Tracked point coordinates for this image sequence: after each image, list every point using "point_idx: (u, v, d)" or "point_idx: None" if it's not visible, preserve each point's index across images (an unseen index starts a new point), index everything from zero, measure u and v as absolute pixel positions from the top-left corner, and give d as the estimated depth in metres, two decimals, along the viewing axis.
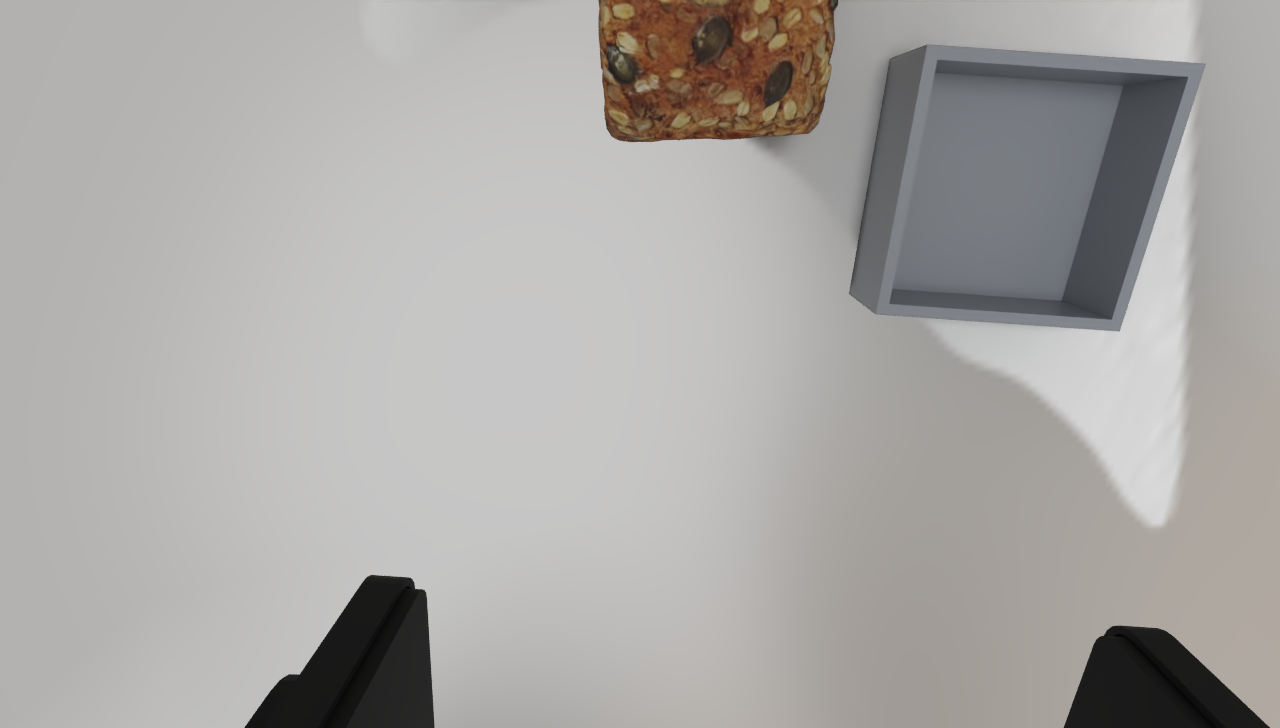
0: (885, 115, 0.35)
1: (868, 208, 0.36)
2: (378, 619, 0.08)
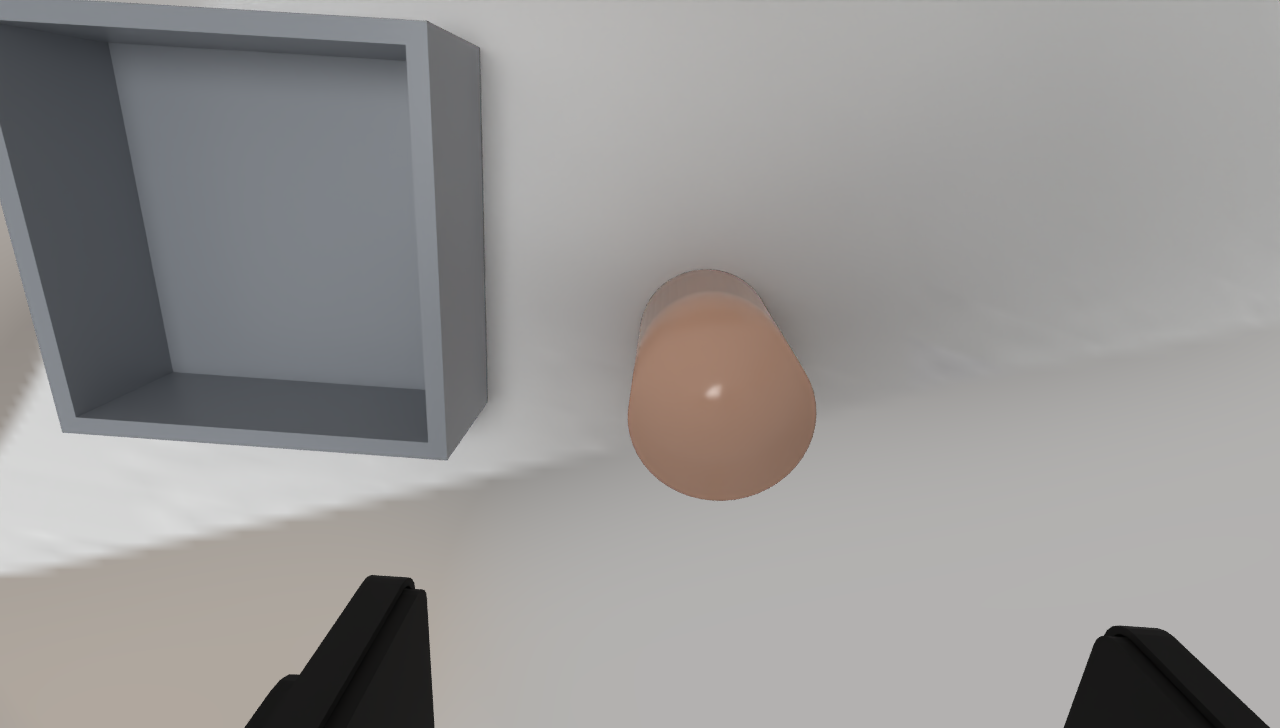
0: None
1: None
2: (378, 619, 0.08)
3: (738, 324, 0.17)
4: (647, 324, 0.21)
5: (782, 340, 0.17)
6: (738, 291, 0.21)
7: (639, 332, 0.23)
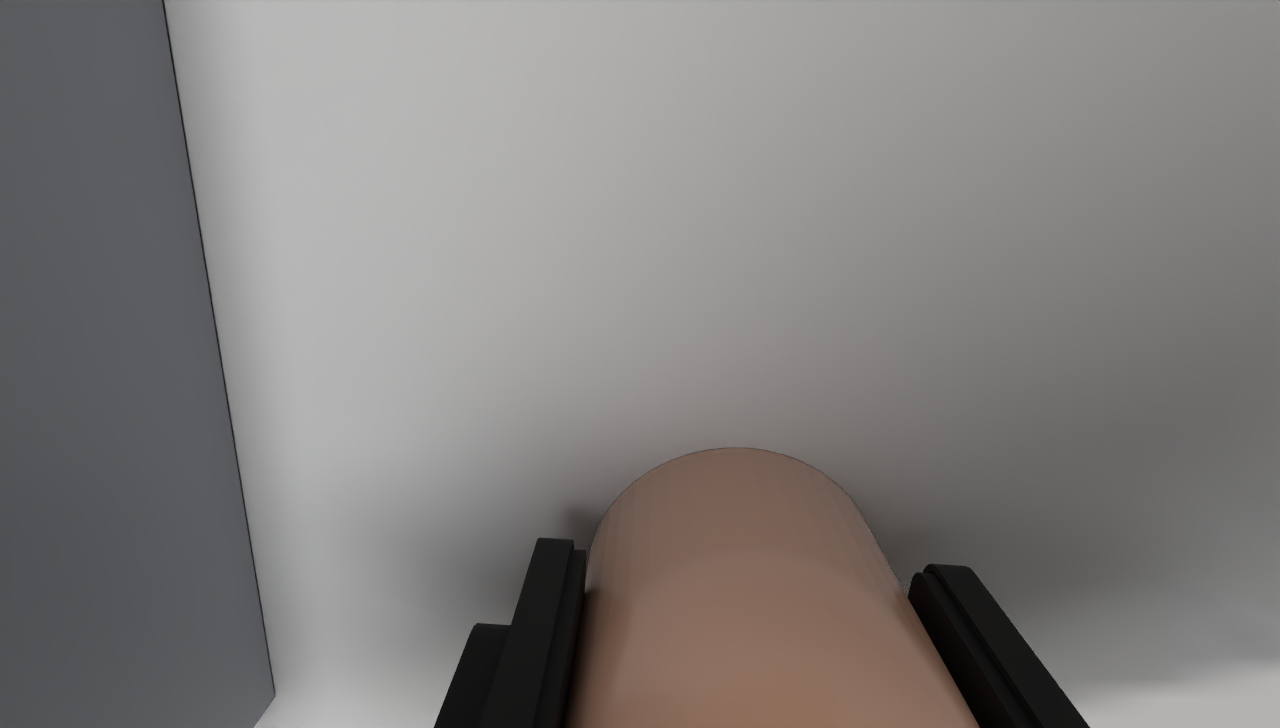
0: None
1: None
2: (561, 573, 0.09)
3: None
4: (587, 672, 0.07)
5: None
6: (839, 573, 0.08)
7: None
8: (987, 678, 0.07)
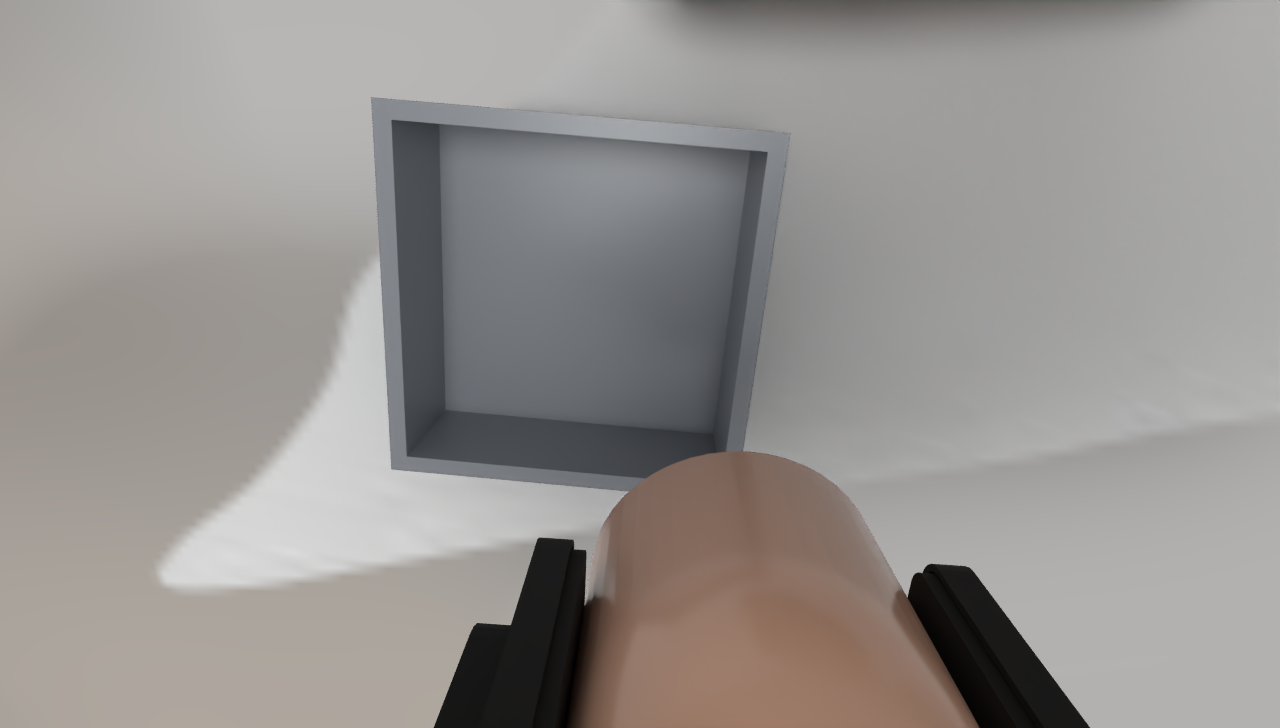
0: None
1: None
2: (561, 573, 0.09)
3: None
4: (590, 677, 0.07)
5: None
6: (842, 578, 0.08)
7: (582, 619, 0.09)
8: (987, 678, 0.07)
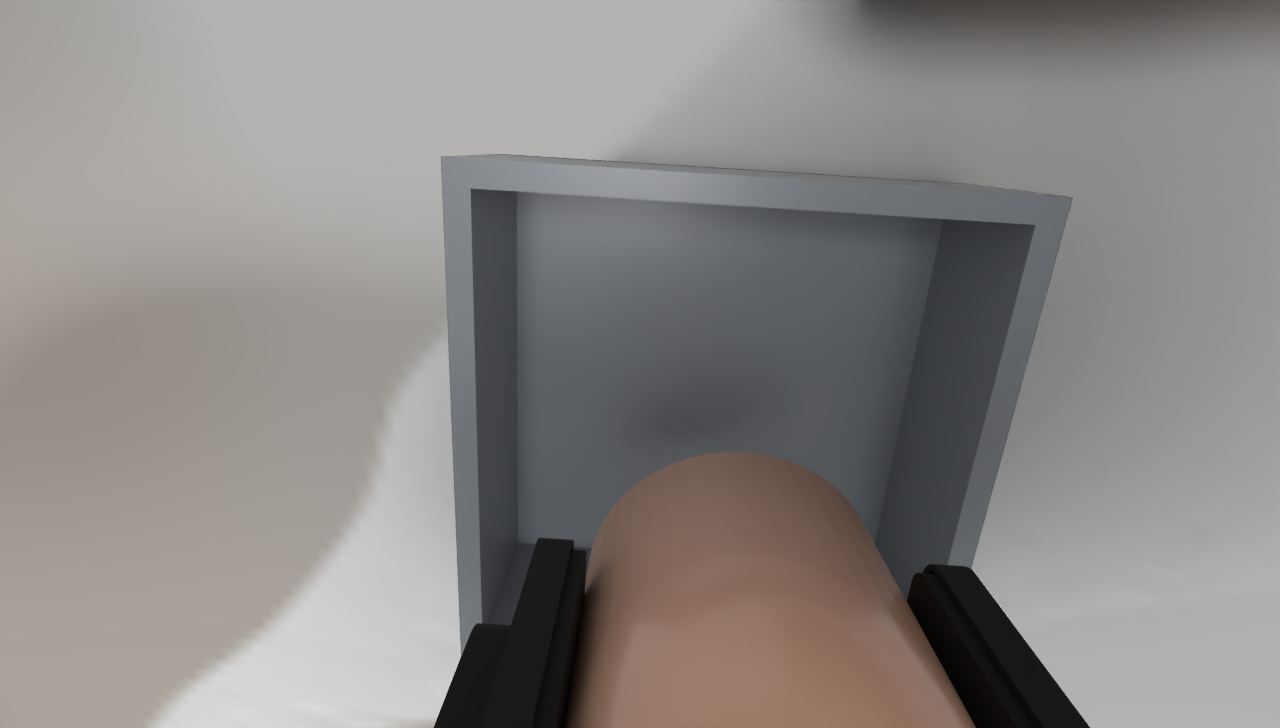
0: (868, 178, 0.17)
1: (683, 166, 0.17)
2: (561, 573, 0.09)
3: None
4: (587, 678, 0.07)
5: None
6: (839, 579, 0.08)
7: None
8: (986, 678, 0.07)
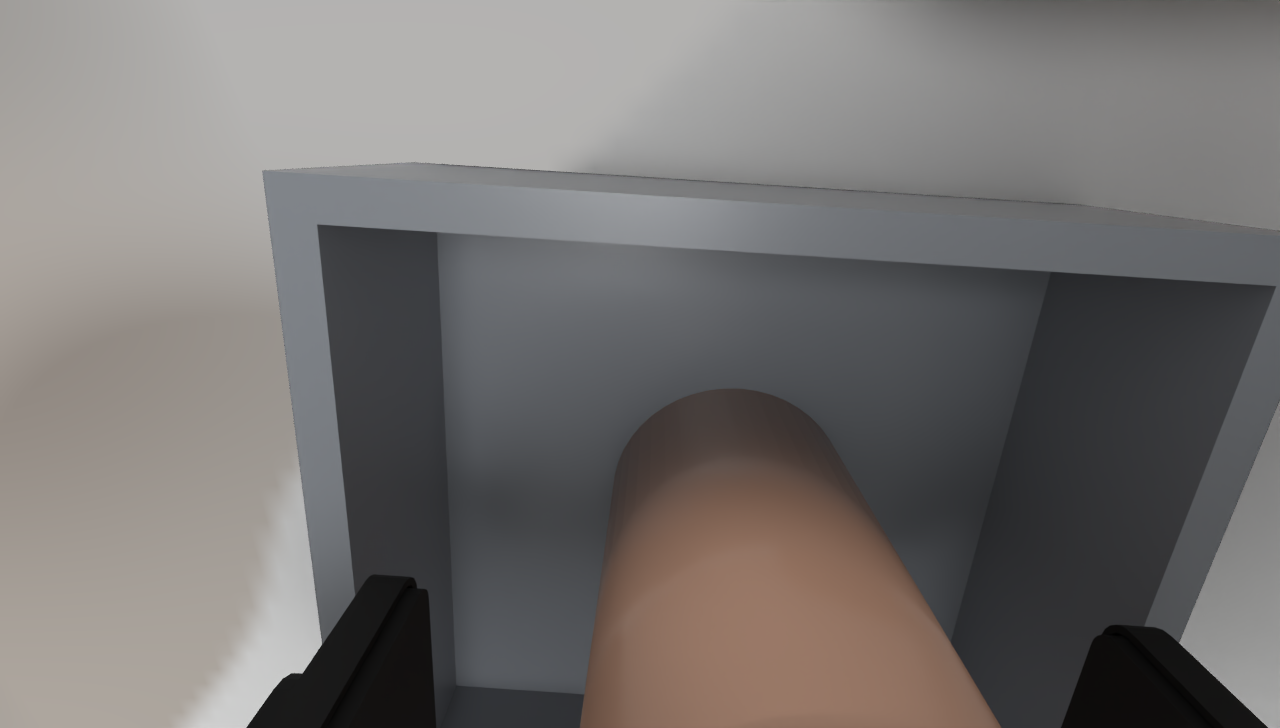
0: (950, 198, 0.12)
1: (679, 181, 0.12)
2: (381, 619, 0.08)
3: (859, 667, 0.06)
4: (621, 533, 0.10)
5: (957, 669, 0.07)
6: (806, 463, 0.10)
7: (609, 514, 0.12)
8: None
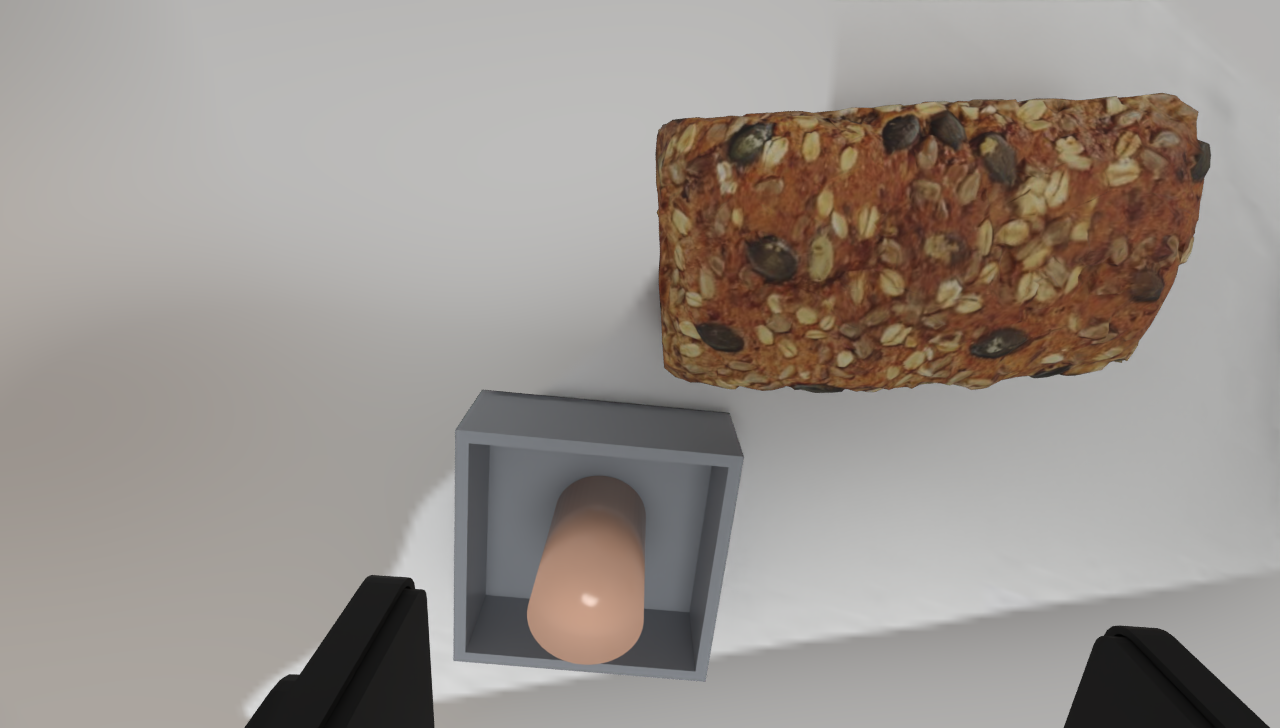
0: (675, 414, 0.33)
1: (579, 405, 0.32)
2: (378, 619, 0.08)
3: (595, 561, 0.27)
4: (551, 530, 0.31)
5: (626, 565, 0.28)
6: (613, 508, 0.31)
7: None
8: None
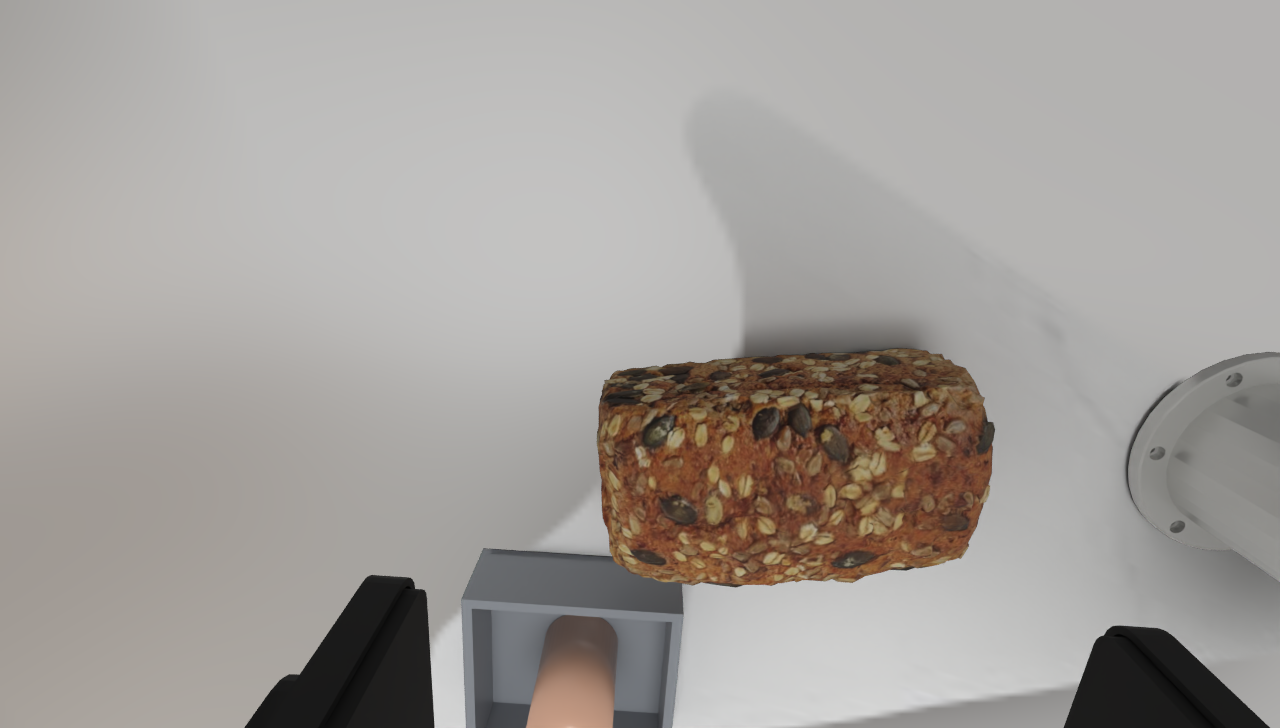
0: None
1: (559, 561, 0.41)
2: (378, 619, 0.08)
3: (571, 707, 0.35)
4: (540, 669, 0.39)
5: (596, 705, 0.36)
6: (587, 648, 0.40)
7: None
8: None
